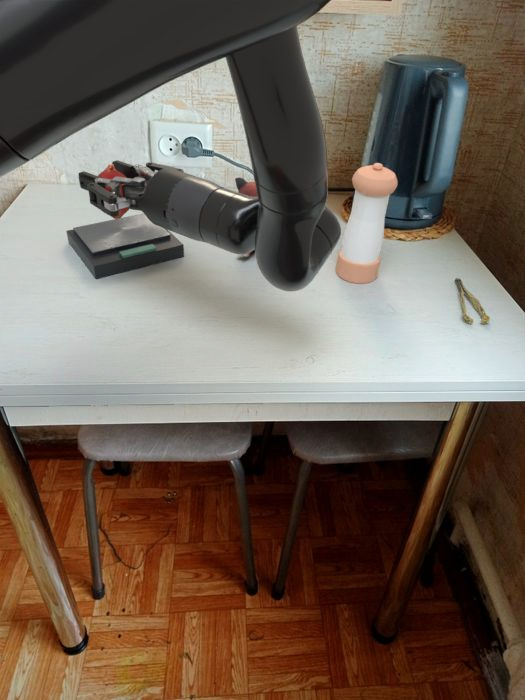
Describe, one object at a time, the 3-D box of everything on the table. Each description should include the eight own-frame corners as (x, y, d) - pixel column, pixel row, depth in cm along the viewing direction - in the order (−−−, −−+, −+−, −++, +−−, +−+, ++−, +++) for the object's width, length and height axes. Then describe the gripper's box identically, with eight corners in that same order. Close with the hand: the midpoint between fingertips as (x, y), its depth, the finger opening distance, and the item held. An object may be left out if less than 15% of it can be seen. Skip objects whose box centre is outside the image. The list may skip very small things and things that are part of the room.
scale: (95, 279, 83) (92, 262, 81) (68, 242, 92) (65, 226, 90) (184, 256, 90) (183, 240, 88) (151, 224, 99) (149, 209, 97)
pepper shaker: (361, 259, 93) (383, 153, 81) (385, 279, 88) (412, 169, 76) (327, 266, 91) (345, 157, 79) (350, 286, 86) (372, 174, 74)
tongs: (461, 281, 89) (465, 272, 88) (488, 329, 80) (493, 319, 78) (438, 281, 89) (442, 271, 88) (462, 328, 80) (467, 318, 78)
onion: (87, 221, 73) (78, 165, 68) (112, 207, 77) (104, 153, 72) (122, 230, 72) (114, 174, 67) (144, 215, 76) (139, 161, 71)
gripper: (224, 162, 67) (132, 134, 74) (146, 194, 58) (49, 159, 65) (224, 215, 72) (137, 184, 79) (152, 253, 63) (61, 214, 70)
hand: (98, 173), depth 72 cm, fingers closed on onion, 5 cm apart
